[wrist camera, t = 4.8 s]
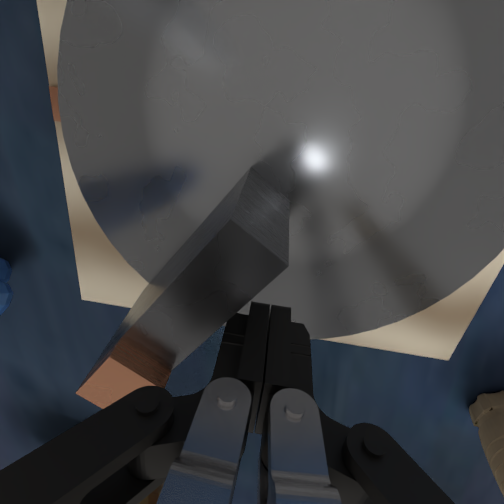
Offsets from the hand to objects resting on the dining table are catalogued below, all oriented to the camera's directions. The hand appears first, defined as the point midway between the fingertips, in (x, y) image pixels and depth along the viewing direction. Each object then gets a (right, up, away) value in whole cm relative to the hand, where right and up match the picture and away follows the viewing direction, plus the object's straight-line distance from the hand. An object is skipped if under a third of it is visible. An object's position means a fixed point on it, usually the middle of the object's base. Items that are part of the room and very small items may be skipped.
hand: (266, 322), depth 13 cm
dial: (+1, +7, +2) cm, 8 cm away
